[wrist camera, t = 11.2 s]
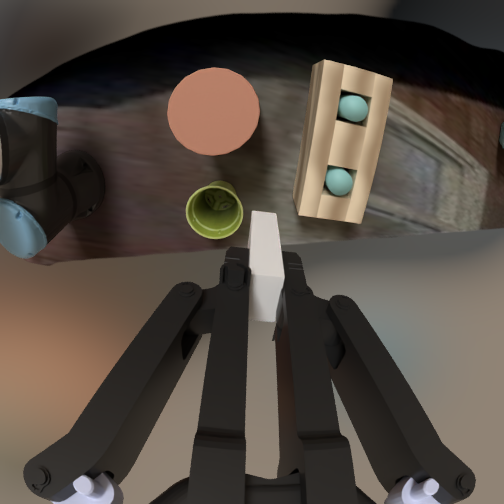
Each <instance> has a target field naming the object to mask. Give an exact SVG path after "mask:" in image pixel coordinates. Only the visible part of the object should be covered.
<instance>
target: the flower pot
mask: <svg viewBox="0 0 504 504" xmlns="http://www.w3.org/2000/svg"><path fill="white" fill-rule="evenodd" d="M499 142H500V144H501V146H502V147H503V148H504V122H503V123H502V126H501V133H500V138H499Z"/></svg>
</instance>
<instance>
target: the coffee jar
mask: <svg viewBox="0 0 504 504" xmlns="http://www.w3.org/2000/svg"><path fill="white" fill-rule="evenodd" d="M167 115H168V120H169V126H170V128H171V130H172V132H173V134H174V136H175V137H176V139H177V140H178V141H179V142H180V143H181V144H183V145H184V146H185V147H186V148H187V149H190V150H192V151H194V152H196V153H198V154H204V155H211V156H215V155H221V154H227V153H229V152H231V151H233V150H236V149H238V148H240V147H241V146H242V145H243V144H244V143H245V142H246V141H247V140H249V139H250V137H251V136H252V134H253V132H254V130H255V129H256V127H257V124H258V120H259V115H260V107H259V100H258V96H257V94H256V92H255V90H254V89H253V87H252V85H251V84H250V83H249V82H248V81H247V80H246V79H245V78H243V77H242V76H241V75H239V74H237V73H235V72H233V71H231V70H229V69H222V68H207V69H202V70H198V71H196V72H194V73H192V74H190V75H189V76H187V77H185V78H184V79H183V80H182V81H181V82H180V83H179V84H178V85H177V86H176V87H175V89H174V91H173V93H172V95H171V97H170V100H169V105H168V112H167Z"/></svg>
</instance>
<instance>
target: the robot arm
mask: <svg viewBox="0 0 504 504" xmlns="http://www.w3.org/2000/svg"><path fill="white" fill-rule="evenodd" d="M57 125H58V120H57V103H56V101H55V100H54V99H53V98H50V97H21V98H9V99H1V100H0V243H1V244H2V245H3V246H4V247H5V248H6V249H7V250H8V251H9V252H10V253H12V254H13V255H15V256H17V257H20V258H31V257H33V256H34V255H35V254H37V253H38V252H39V251H40V250H42V249H44V248H45V246H46V245H47V244H48V243H49V242H50V241H51V240H52V239H53V238H54V237H55V236H56V235H57V234H58V233H59V232H60V231H61V230H62V229H63V228H64V227H65V226H66V225H67V224H68V223H69V222H71V221H75V220H78V219H82V218H85V217H87V216H89V215H90V214H92V213H93V212H94V211H95V210H96V209H97V208H98V207H99V206H100V204H101V202H102V200H103V197H104V192H105V183H104V177H103V174H102V171H101V169H100V167H99V165H98V164H97V162H96V161H95V160H94V159H93V158H92V157H91V156H90V155H89V154H87V153H85V152H83V151H80V150H70V151H67V152H65V153H63V154H61V155H59V156H58V157H57ZM275 318H276V321H277V323H276V327H275V331H274V335H273V339H272V341H274V340H275V344H276V365H277V366H276V367H277V391H278V415H279V448H280V460H279V465H278V472H277V478H276V479H265V478H261V477H257V476H253V475H249V474H245V462H246V461H245V460H246V440H245V408H246V405H245V404H246V377H247V348H248V320H254V321H266V322H275ZM206 333H211V338H210V345H209V351H208V358H207V365H206V371H205V378H204V385H203V392H202V399H201V406H200V414H199V421H198V428H197V432H196V435H195V438H194V444H193V452H192V460H191V468H190V476H189V477H187V478H185V479H182V480H180V481H179V482H177V483H175V484H173V485H172V486H171V487H169V488H168V489H167V490H166V491H164V492H163V493H162V494H161V495H160V496H158V497H157V498H156V499H154V500H153V501H152V502H150V503H149V504H376V503H375V502H374V501H373V500H371V499H370V498H369V497H368V496H367V495H366V494H365V493H364V492H363V491H361V489H359V488H358V487H357V486H356V484H355V476H354V469H353V462H352V456H351V449H350V444H349V441H348V439H347V438H346V437H345V436H342V435H341V433H340V430H339V423H338V417H337V411H336V405H335V399H334V393H333V388H332V382H331V379H332V381H333V383H334V385H335V387H336V390H337V392H338V394H339V396H340V398H341V401H342V403H343V405H344V407H345V409H346V411H347V413H348V416H349V418H350V420H351V422H352V424H353V426H354V428H355V431H356V433H357V435H358V437H359V440H360V442H361V444H362V446H363V448H364V450H365V453H366V455H367V457H368V459H369V462H370V464H371V466H372V468H373V470H374V472H375V474H376V476H377V478H378V480H379V482H380V483H381V484H382V486H383V487H384V489H385V490H386V491H387V492H388V493H389V494H388V497H387V498H386V500H385V502H384V504H454V503H456V502H459V501H461V500H464V499H465V498H467V497H469V496H470V495H471V493H472V492H473V490H474V487H475V481H476V479H475V475H474V473H473V472H472V470H471V469H470V468H468V466H466V465H465V464H464V463H463V462H462V461H461V460H460V459H459V458H458V457H457V456H456V455H454V454H453V453H452V452H451V451H450V450H449V449H448V448H447V447H446V446H445V445H444V444H443V443H442V442H441V440H440V438H439V436H438V434H437V432H436V431H435V429H434V427H433V425H432V424H431V422H430V420H429V418H428V417H427V415H426V413H425V411H424V410H423V408H422V406H421V404H420V403H419V401H418V399H417V398H416V396H415V394H414V393H413V391H412V389H411V388H410V386H409V384H408V383H407V381H406V380H405V378H404V376H403V375H402V373H401V371H400V370H399V368H398V367H397V365H396V363H395V362H394V360H393V359H392V357H391V356H390V354H389V352H388V351H387V349H386V348H385V346H384V345H383V343H382V342H381V340H380V339H379V337H378V336H377V334H376V332H375V331H374V329H373V328H372V327H371V325H370V323H369V322H368V320H367V319H366V318H365V316H364V315H363V313H362V312H361V311H360V309H359V307H358V306H357V304H356V303H355V302H354V301H353V300H352V299H351V298H349V297H347V296H344V295H335V296H333V297H332V298H331V299H330V300H329V301H328V300H325V299H321V298H319V297H316V296H314V295H313V292H312V290H311V289H310V287H308V286H307V284H306V279H305V275H304V270H303V267H302V261H301V258H300V257H299V256H298V255H297V253H294V252H285V251H281V245H280V238H279V230H278V223H277V216H276V213H269V212H260V211H252V215H251V223H250V232H249V240H248V248H239V247H230V248H229V249H228V250H227V251H226V256H225V262H224V265H222V267H221V268H220V282H219V284H218V285H217V286H215V287H213V288H209V289H201V287H200V286H199V285H197V284H195V283H193V282H181V283H179V284H176V285H175V286H174V287H173V288H172V289H171V291H170V292H169V293H168V295H167V296H166V297H165V298H164V300H163V301H162V302H161V304H160V305H159V306H158V308H157V309H156V310H155V311H154V313H153V314H152V316H151V317H150V318H149V319H148V321H147V322H146V323H145V325H144V326H143V327H142V329H141V330H140V331H139V333H138V335H137V336H136V337H135V338H134V340H133V341H132V342H131V344H130V345H129V347H128V348H127V349H126V351H125V352H124V354H123V355H122V356H121V358H120V359H119V360H118V362H117V363H116V364H115V366H114V367H113V369H112V370H111V371H110V373H109V374H108V376H107V377H106V379H105V380H104V381H103V383H102V384H101V386H100V387H99V389H98V390H97V392H96V393H95V394H94V396H93V397H92V399H91V400H90V402H89V403H88V405H87V406H86V408H85V409H84V411H83V412H82V414H81V415H80V417H79V418H78V420H77V421H76V423H75V424H74V426H73V427H72V429H71V430H70V432H69V433H68V434H66V435H65V436H64V437H62V438H61V439H59V440H58V441H57V442H55V443H54V444H52V445H51V446H49V447H48V448H47V449H45V450H44V451H42V452H41V453H39V454H38V455H37V456H35V457H34V458H32V459H31V460H29V461H28V463H27V464H26V465H25V467H24V471H23V474H24V480H25V483H26V485H27V487H28V488H29V489H30V490H31V491H32V492H33V493H34V494H36V495H38V496H39V497H42V498H44V499H47V500H49V501H51V502H53V504H123V499H124V498H123V493H122V490H121V489H120V487H119V486H118V485H119V484H120V483H121V482H122V481H123V479H124V478H125V477H126V476H127V475H128V473H129V472H130V470H131V468H132V467H133V465H134V463H135V461H136V460H137V458H138V456H139V454H140V452H141V450H142V448H143V446H144V444H145V442H146V441H147V439H148V437H149V435H150V433H151V431H152V429H153V427H154V426H155V423H156V421H157V420H158V418H159V416H160V414H161V412H162V410H163V408H164V407H165V405H166V403H167V401H168V399H169V397H170V395H171V393H172V392H173V390H174V388H175V386H176V384H177V382H178V380H179V378H180V377H181V375H182V373H183V371H184V369H185V367H186V365H187V364H188V362H189V360H190V358H191V356H192V354H193V352H194V350H195V349H196V347H197V345H198V343H199V341H200V339H201V337H202V334H206Z"/></svg>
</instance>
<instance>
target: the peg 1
mask: <svg viewBox="0 0 504 504" xmlns="http://www.w3.org/2000/svg"><path fill="white" fill-rule="evenodd" d="M367 113H368V106H367V104H366V102H365V101H364V100H363V99H362V98H361V97H359V96H351V95H340V98H339V105H338V111H337V116H338V117H342V118H345V119H348V120H351V121H354V122H358V121H361V120H363V119H364V118H365V117H366V116H367Z"/></svg>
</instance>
